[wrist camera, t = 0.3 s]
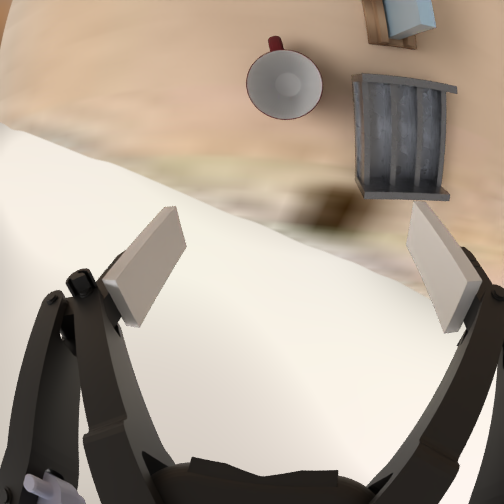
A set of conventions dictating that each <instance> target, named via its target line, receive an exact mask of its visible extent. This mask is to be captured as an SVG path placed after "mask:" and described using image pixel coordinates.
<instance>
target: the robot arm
mask: <svg viewBox="0 0 504 504" xmlns="http://www.w3.org/2000/svg"><path fill="white" fill-rule="evenodd" d="M406 246H407V248H408V250H409V252H410V254H411V256H412V258H413V260H414V262H415V264H416V266H417V269H418V271H419V273H420V275H421V277H422V280H423V282H424V284H425V286H426V289H427V291H428V293H429V296H430V298H431V301H432V303H433V305H434V308H435V310H436V313H437V316H438V318H439V321H440V324H441V327H442V329H443V332H444V333H451V332H458V331H459V329H460V327H461V325H462V323H463V321H464V324H465V326H466V330H465V332H464V334H463V336H462V338H461V339H460V341H459V343H458V344H457V346H458V348H457V350H456V352H455V355H454V357H453V359H452V361H451V363H450V365H449V367H448V370H447V371H446V373H445V376H444V378H443V380H442V381H441V383H440V385H439V387H438V389H437V391H436V392H435V394H434V396H433V398H432V400H431V401H430V403H429V405H428V406H427V408H426V410H425V411H424V413H423V415H422V416H421V418H420V419H419V421H418V423H417V424H416V426H415V427H414V429H413V430H412V432H411V433H410V435H409V436H408V437H407V439H406V440H405V442H404V443H403V444H402V446H401V447H400V448H399V450H398V451H397V453H396V454H395V455H394V456H393V458H392V459H391V460H390V462H389V463H388V464H387V465H386V466H385V467H384V468H383V469H382V470H381V471H380V472H379V473H378V474H377V475H376V477H374V478H373V480H372V481H371V482H370V483H369V484H368V485H367V486H366V487H365V486H364V485H362V484H361V483H359V482H357V481H354V480H352V479H349V478H346V477H342V476H338V470H329V471H328V470H327V471H303V470H302V471H296V472H291V473H285V474H278V475H272V476H265V477H264V476H258V475H255V474H252V473H249V472H246V471H243V470H241V469H238V468H236V467H233V466H231V465H228V464H226V463H220V462H215V461H210V460H204V459H200V458H195V457H192V458H191V462H190V463H180V464H176V465H175V463H174V461H173V460H172V458H171V457H170V456H169V454H168V453H167V452H166V451H165V449H164V447H163V445H162V443H161V441H160V439H159V437H158V434H157V432H156V430H155V427H154V425H153V422H152V420H151V417H150V415H149V413H148V410H147V408H146V405H145V402H144V400H143V397H142V394H141V391H140V388H139V386H138V383H137V380H136V377H135V374H134V371H133V368H132V365H131V362H130V358H129V355H128V352H127V348H126V345H125V341H124V338H123V334H122V330H121V327H120V325H119V324H118V321H119V320H120V318H121V317H122V319H123V320H124V322H125V324H126V326H132V327H140V326H141V324H142V322H143V321H144V319H145V317H146V315H147V313H148V311H149V310H150V308H151V306H152V304H153V303H154V301H155V299H156V297H157V296H158V294H159V292H160V291H161V289H162V287H163V285H164V284H165V282H166V280H167V279H168V277H169V275H170V273H171V272H172V270H173V268H174V267H175V265H176V263H177V262H178V260H179V258H180V257H181V255H182V254H183V252H184V250H185V249H186V243H185V239H184V235H183V232H182V228H181V224H180V221H179V216H178V212H177V208H176V206H174V207H173V206H172V207H164V208H163V209H162V210H161V211H160V212H159V213H158V215H157V216H156V217H155V218H154V219H153V220H152V221H151V222H150V223H149V224H148V225H147V227H146V228H145V229H144V230H143V231H142V232H141V233H140V234H139V236H138V237H137V238H136V239H135V240H134V241H133V243H132V244H131V245H130V246H129V247H128V248H127V250H125V251H124V252H122V253H121V254H119V255H118V256H117V257H116V258H115V259H114V261H113V262H112V263H111V264H110V266H109V267H108V269H106V270H105V272H104V273H103V274H102V275H101V276H100V278H99V279H98V280H97V281H96V282H95V280H94V278H93V276H92V274H91V272H90V270H89V269H87V268H86V269H80V270H78V271H76V272H74V273H73V274H71V275H70V276H69V278H68V279H67V280H66V285H67V287H68V289H69V290H70V292H71V294H72V296H73V297H69V298H65V296H64V294H63V293H62V291H60V290H56V291H53V292H51V293H50V294H48V295H47V296H46V297H45V299H44V300H43V302H42V304H41V307H40V309H39V312H38V315H37V317H36V320H35V323H34V326H33V329H32V332H31V335H30V338H29V341H28V344H27V348H26V351H25V355H24V358H23V362H22V366H21V370H20V374H19V378H18V382H17V387H16V391H15V396H14V401H13V407H12V413H11V419H10V426H9V435H8V444H7V449H6V451H5V455H4V458H3V461H2V464H1V468H0V504H86V503H85V500H84V498H83V497H82V496H80V495H79V494H78V492H77V488H78V478H79V452H78V427H79V402H80V389H81V391H82V397H83V402H84V408H85V413H86V418H87V422H88V426H89V432H88V433H87V434H84V436H83V445H84V449H85V453H86V457H87V460H88V464H89V468H90V471H91V474H92V478H93V481H94V483H95V486H96V490H97V492H98V495H99V498H100V501H101V503H102V504H438V503H439V502H440V500H441V499H442V497H443V496H444V494H445V493H446V491H447V490H448V488H449V487H450V485H451V483H452V482H453V480H454V479H455V477H456V475H457V473H458V471H459V466H460V465H459V463H458V459H459V457H460V454H461V453H462V451H463V448H464V447H465V445H466V443H467V441H468V439H469V437H470V435H471V433H472V431H473V428H474V426H475V424H476V422H477V419H478V417H479V415H480V412H481V410H482V407H483V405H484V402H485V400H486V397H487V394H488V391H489V389H490V386H491V383H492V380H493V377H494V374H495V371H496V367H498V368H497V381H496V392H495V399H494V407H493V414H492V420H491V425H490V430H489V436H488V440H487V445H486V449H485V453H484V456H483V460H482V464H481V467H480V471H479V474H478V477H477V480H476V483H475V486H474V489H473V492H472V495H471V498H470V501H469V504H504V288H502V287H501V286H498V285H493V284H492V283H491V281H490V280H489V278H488V276H487V275H486V273H485V272H484V270H483V269H482V267H480V264H479V263H478V261H477V260H476V258H475V257H474V255H473V254H472V253H471V252H470V251H469V250H467V249H466V248H465V247H460V246H459V244H458V243H457V242H456V240H455V239H454V237H453V236H452V235H451V233H450V232H449V231H448V229H447V228H446V227H445V225H444V224H443V223H442V222H441V220H440V219H439V218H438V216H437V215H436V214H435V213H434V211H433V210H432V209H431V208H430V207H429V205H428V204H427V203H426V202H420V201H413V207H412V214H411V220H410V226H409V232H408V237H407V243H406ZM60 333H61V334H62V339H61V337H60ZM497 364H498V365H497Z"/></svg>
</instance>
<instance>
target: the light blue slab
mask: <svg viewBox="0 0 504 504" xmlns="http://www.w3.org/2000/svg"><path fill="white" fill-rule="evenodd" d="M382 2H383V7H384V12H385V18H386V24H387V30H388V37H389V39H397V40H401V39H403V38H406V37H409V36H412V35H415V34H418V33H421V32H424V31H427V30H430V29H433V28H436V23H435V18H434V12H433V7H432V3H431V0H382Z"/></svg>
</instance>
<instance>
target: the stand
mask: <svg viewBox="0 0 504 504" xmlns="http://www.w3.org/2000/svg"><path fill="white" fill-rule="evenodd" d="M362 4H363V10H364V15H365V21H366V27H367V34H368V42H369V44H377V45H387V46H395V47H402V48H408V49H417V46H416V38H415V35H412V36H409V37H406V38H403V39H401V40H397V39H389V37H388V30H387V24H386V18H385V12H384V7H383V2H382V0H362Z"/></svg>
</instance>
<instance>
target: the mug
mask: <svg viewBox="0 0 504 504" xmlns="http://www.w3.org/2000/svg"><path fill="white" fill-rule="evenodd" d="M268 43H269V48H270V52H268V53H266V54H264V55H262V56H261V57H259V58H258V59H257V60H256V61H255V62H254V63H253V64H252V66H251V68H250V69H249V72H248V75H247V80H246V87H247V92H248V95H249V98H250V100H251V101H252V103H253V104H254V105H255V107H256V108H257V109H258V110H260V111H261V112H262V113H264V114H266V115H267V116H270V117H272V118H276V119H281V120H291V119H296V118H300V117H302V116H304V115H306V114H308V113H309V112H310V111H312V110H313V109H314V108H315V106H316V105H317V104H318V102H319V100H320V98H321V96H322V91H323V81H322V76H321V73H320V71H319V69H318V68H317V66H316V65H315V64H314V62H313V61H312V60H310V59H309V58H308V57H306V56H305V55H303V54H301V53H299V52H296V51H292V50H284V48H283V44H282V41H281V38H280V37H279V36H273V37H270V38H269V39H268Z"/></svg>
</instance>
